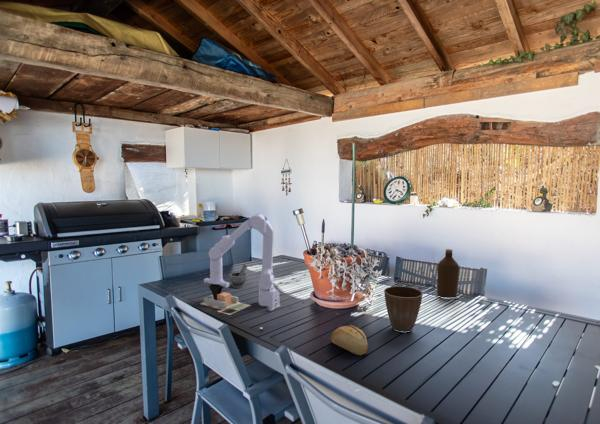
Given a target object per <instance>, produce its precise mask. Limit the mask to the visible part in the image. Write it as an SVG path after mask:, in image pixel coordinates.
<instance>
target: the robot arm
mask: <svg viewBox="0 0 600 424" xmlns="http://www.w3.org/2000/svg"><path fill="white" fill-rule="evenodd" d="M252 229H253V230H255V231H258V232H259V233H260V234H261V235H262V236H263V237H262V255H261V256H262V258H261V259H262V261H261V272H260V277H259V279H258V283H257V284H258V286H259V287H258V305H259V306H261V307H265V308H264V310H265V311H271V312H272V311H274V310H276V309H277V308H279V307H281V304H280V303H281V302H280V297H281V296H280V295H281V294H280V291H279V290H278V289H276V288H275V285H274V281H275V276H274V272H273V271H274V270H273V258H274V257H273V256H274V238H275V237H274V235H275V233H274V232H275V230H274V228H273V227H272V225H271V223H270V221H269V218H268V217H267V216H265V215H264V213H260V212H259V213H256V214H254V215H252V216H251V217H250V218H248V219H246V220H245V221H244V222H242V223H241V224H240V225H239V226H238V227H237V228H236V229H235V230H234V231H233V232H232V233H231V234H230V235H223V236H222V237H221V239H220V240H219V241H218V242H217V243H215V244H214V246H213V247H210V249H209V250H208V257H209V261H210V262H209V273H210V274H209V278H208V277H206V278H204V279H203V283H205V284H210V285H209V286H208V288H209V289H210V291H211V293H212V294H211V295H213V297H214V300H217V295H218V294H220V293H222V291H223V288H226V289H227V288H229V287H230V282H228V281H226V280H224V278H223V256H224V254H225V253H227V252H228V251H229V250H230V249H231V248H233V246H234V245H235V243H236V240H237V239H238V238H239V237H241V235H243V234H244V233H245V232H247V231H248V230H252Z"/></svg>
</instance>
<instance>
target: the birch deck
mask: <svg viewBox="0 0 600 424" xmlns="http://www.w3.org/2000/svg"><path fill="white" fill-rule="evenodd" d="M199 305H202V306H206V307H211V308H213V309H218V310H217V313H221V314H225V315H229V316H231V315H233V314H235V313H238V312H241V311H242V310H244V309H246V308H248V307H251V306H252V305H251V304H247V303H244V302H240V301H238V303H235V302H231V303H230V304H228V305H226V308H221V307H217V306H214V305H210V304H206V303H204V301H202V302H201V303H199ZM228 309H231V310H234V311H233V312H230V313H228V312H224V311H227V310H228Z"/></svg>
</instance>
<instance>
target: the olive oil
mask: <svg viewBox="0 0 600 424" xmlns="http://www.w3.org/2000/svg"><path fill="white" fill-rule="evenodd" d="M459 265H460V264H458V262H457V260H455V259H454V258H453V249H450V248H447V249H445V255H444V258H442V259H441V260H440V261H439V262H438V264H437V266H436V267H437V268H436V269H437V271H436V274H437V275H436V278H437V279H436V280H437V281H436V284H437V286H436V287H437V288H436V290H437V291H436V296H437V295H438V296H441V297H456V296H458V295H457V294H458V284H459V274H460V266H459ZM438 296H437V297H438ZM456 298H457V297H456Z"/></svg>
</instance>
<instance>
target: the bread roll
mask: <svg viewBox="0 0 600 424" xmlns="http://www.w3.org/2000/svg"><path fill="white" fill-rule="evenodd" d="M330 336H331V337H330V340H331V343H333V344H334V345H336V346H338V347H340V348H342V349H344V350H346V351H348V352H350V353H352V354H354V355H357V356H363V354H364V355H366V354H367V352H368V350H369V343H368V339H367V336H366V334H365V332H364V331H363V330H362V329H360V328H359V327H357V326H355V325H352V324H345V325H342V326H339V327H338V328H336V329H334V330H333V332H332V333H331V335H330Z"/></svg>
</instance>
